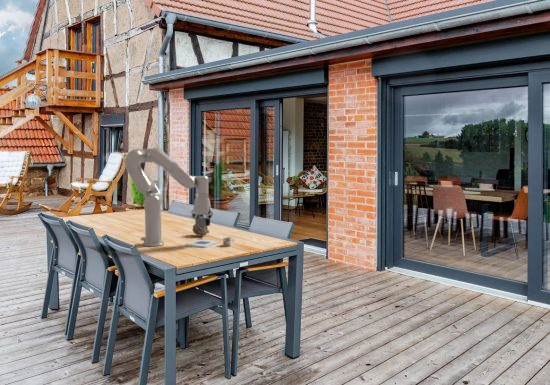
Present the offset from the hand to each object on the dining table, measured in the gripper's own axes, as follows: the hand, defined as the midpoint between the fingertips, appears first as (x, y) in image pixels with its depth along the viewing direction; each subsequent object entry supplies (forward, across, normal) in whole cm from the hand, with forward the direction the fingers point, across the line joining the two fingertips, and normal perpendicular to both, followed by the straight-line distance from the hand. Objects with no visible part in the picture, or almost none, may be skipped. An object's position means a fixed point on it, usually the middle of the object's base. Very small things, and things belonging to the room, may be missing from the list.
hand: (202, 224), depth 299 cm
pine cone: (+13, -13, +23) cm, 29 cm away
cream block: (+13, +16, +4) cm, 21 cm away
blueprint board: (+12, 0, 0) cm, 12 cm away
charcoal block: (+1, 0, 0) cm, 1 cm away
